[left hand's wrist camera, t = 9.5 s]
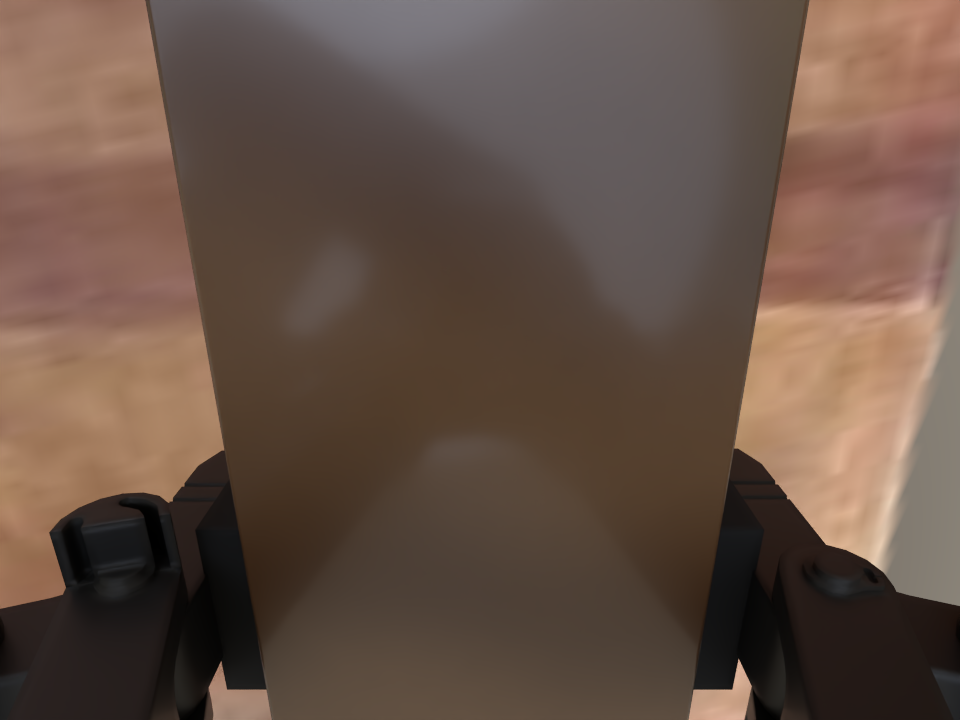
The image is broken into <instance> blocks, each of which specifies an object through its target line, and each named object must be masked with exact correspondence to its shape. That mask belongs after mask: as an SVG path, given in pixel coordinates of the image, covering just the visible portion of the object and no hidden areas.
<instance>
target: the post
mask: <svg viewBox="0 0 960 720" xmlns="http://www.w3.org/2000/svg"><path fill="white" fill-rule="evenodd" d="M808 5H809V0H146V6H147V11H148V17H149V23H150V28H151V34H152V40H153V45H154V51H155V57H156V63H157V68H158V74H159V80H160V85H161V91H162V97H163V102H164V108H165V114H166V119H167V125H168V131H169V137H170V142H171V148H172V154H173V159H174V165H175V171H176V176H177V182H178V188H179V193H180V199H181V205H182V211H183V216H184V222H185V228H186V233H187V239H188V245H189V250H190V256H191V262H192V267H193V273H194V279H195V285H196V290H197V296H198V302H199V307H200V313H201V319H202V324H203V330H204V336H205V341H206V347H207V353H208V359H209V364H210V370H211V376H212V381H213V387H214V393H215V398H216V404H217V410H218V415H219V421H220V427H221V433H222V438H223V444H224V450H225V455H226V461H227V467H228V472H229V478H230V484H231V489H232V495H233V501H234V507H235V512H236V518H237V524H238V529H239V535H240V541H241V546H242V552H243V558H244V563H245V569H246V575H247V581H248V586H249V592H250V598H251V603H252V609H253V615H254V620H255V626H256V632H257V637H258V643H259V649H260V655H261V660H262V666H263V672H264V677H265V683H266V689H267V694H268V700H269V706H270V711H271V717H272V720H688V719H689V713H690V707H691V701H692V695H693V689H694V683H695V677H696V671H697V665H698V659H699V653H700V647H701V641H702V635H703V630H704V624H705V618H706V612H707V606H708V600H709V594H710V588H711V582H712V576H713V570H714V564H715V558H716V552H717V546H718V540H719V534H720V528H721V523H722V517H723V511H724V505H725V499H726V493H727V487H728V481H729V475H730V469H731V463H732V457H733V451H734V445H735V439H736V433H737V427H738V421H739V415H740V410H741V404H742V398H743V392H744V386H745V380H746V374H747V368H748V362H749V356H750V350H751V344H752V338H753V332H754V326H755V320H756V314H757V308H758V302H759V297H760V291H761V285H762V279H763V273H764V267H765V261H766V255H767V249H768V243H769V237H770V231H771V225H772V219H773V213H774V207H775V201H776V195H777V190H778V184H779V178H780V172H781V166H782V160H783V154H784V148H785V142H786V136H787V130H788V124H789V118H790V112H791V106H792V100H793V94H794V88H795V82H796V77H797V71H798V65H799V59H800V53H801V47H802V41H803V35H804V29H805V23H806V17H807V11H808Z"/></svg>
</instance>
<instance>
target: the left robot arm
mask: <svg viewBox="0 0 960 720" xmlns="http://www.w3.org/2000/svg"><path fill="white" fill-rule="evenodd" d="M49 533H50V536H51V540H52V543H53V546H54V549H55V553H56V556H57V559H58V563H59V566H60V569H61V572H62V576H63V579H64V582H65V586H66V589H65V591H64V593H63V595H60V596H57V597H53V598H49V599H45V600H40V601H35V602H31V603H26V604H21V605H17V606H12V607H7V608H3V609H0V720H213V709H212V702H211V697H210V692H209V685H210V683H211V681H212V679H213V677H214V675H215V673H216V671H217V668H218V666H219V664H220V662H221V661H222V666H223V671H224V676H225V681H226V686H227V689H266V683H265V677H264V672H263V666H262V660H261V655H260V649H259V643H258V637H257V632H256V626H255V620H254V615H253V609H252V603H251V598H250V592H249V586H248V581H247V575H246V569H245V563H244V558H243V552H242V546H241V541H240V535H239V529H238V524H237V518H236V512H235V507H234V501H233V495H232V489H231V484H230V478H229V472H228V467H227V461H226V455H225V451H221V452H219V453H218V454H216V455H214V456H213V457H211V458H210V459H208V460H207V461H205V462H204V463H202V464H200V465H199V466H198V467H197V468H196V470H195V471H194V472H193V473H192V475H191V476H190V477H189V478H188V480H187V481H186V482H185V486H184V487H181V489H180V490H179V491H178V492H177V494H176V495H175V496H174V497H173V502H169V503H168V502H166V501H165V500H164V499H162V498H161V497H160V496H157V495H152V494H147V493H126V494H119V495H115V496H111V497H107V498H102V499H99V500H97V501H94V502H92V503H89V504H87V505H85V506H82V507H80V508H78V509H76V510H75V511H73V512H72V513H70V514H69V515H67V516H65V517H64V518H62V519H61V520H60V521H59V522H58V523H57V524H56V526H55V527H54V528H53V529H52V530H51V531H50V532H49ZM738 659H739V660H740V662H741V664H742V666H743V668H744V671H745V673H746V675H747V677H748V679H749V681H750V683H751V685H752V688H751V692H750V697H749V702H748V706H747V711H746V715H745V720H960V606H956V605H951V604H947V603H942V602H938V601H933V600H928V599H923V598H919V597H914V596H909V595H906V594H902V593H898V592H896V590H895V588H894V586H893V585H892V583H891V582H890V581H889V579H888V578H887V577H886V575H885V574H884V573H883V572H882V571H881V570H879V569H878V568H877V567H875V566H874V565H873V564H871V563H870V562H869V561H867V560H866V559H863V558H861V557H859V556H857V555H855V554H853V553H851V552H849V551H847V550H843V549H839V548H836V547H832V546H828V545H826V544H825V543H824V542H823V541H822V539H821V538H820V537H819V536H818V534H817V533H816V532H815V531H814V529H813V528H812V527H811V525H810V524H809V523H808V522H807V520H806V519H805V518H804V517H803V515H802V514H801V513H800V512H799V510H798V509H797V508H796V507H795V505H794V504H793V503H792V502H791V500H790V499H787V495H786V494H785V493H784V492H783V490H782V489H781V488H780V487H779V485H775V480H774V479H773V478H772V477H771V475H770V474H769V473H768V471H767V470H766V469H765V468H764V466H763V465H762V464H761V463H759V462H758V461H756V460H755V459H753V458H752V457H750V456H749V455H747V454H745V453H744V452H742V451H741V450H739V449H734V451H733V457H732V463H731V469H730V475H729V481H728V487H727V493H726V499H725V505H724V511H723V517H722V523H721V528H720V534H719V540H718V546H717V552H716V558H715V564H714V570H713V576H712V582H711V588H710V594H709V600H708V606H707V612H706V618H705V624H704V630H703V635H702V641H701V647H700V653H699V659H698V665H697V671H696V677H695V683H694V689H732V688H733V683H734V678H735V673H736V668H737V663H738Z"/></svg>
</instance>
